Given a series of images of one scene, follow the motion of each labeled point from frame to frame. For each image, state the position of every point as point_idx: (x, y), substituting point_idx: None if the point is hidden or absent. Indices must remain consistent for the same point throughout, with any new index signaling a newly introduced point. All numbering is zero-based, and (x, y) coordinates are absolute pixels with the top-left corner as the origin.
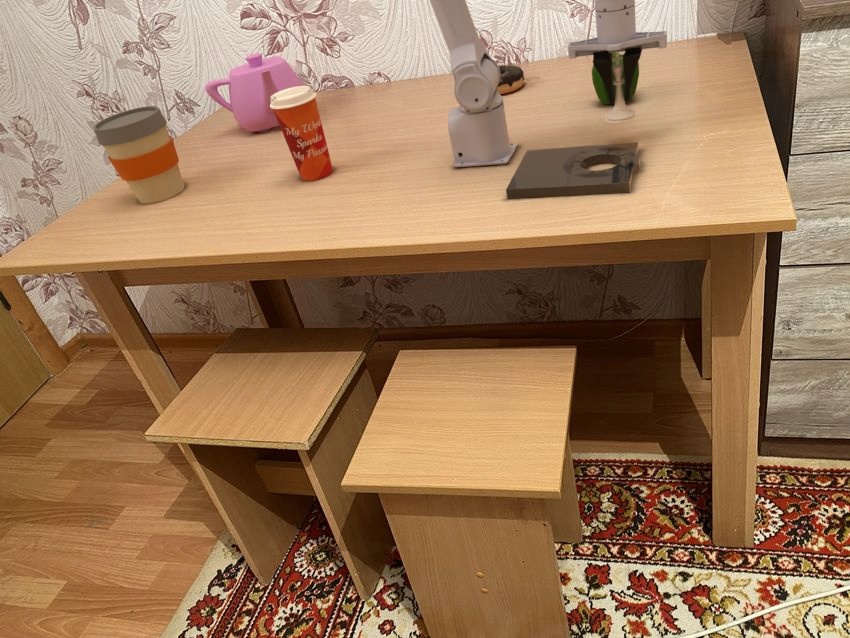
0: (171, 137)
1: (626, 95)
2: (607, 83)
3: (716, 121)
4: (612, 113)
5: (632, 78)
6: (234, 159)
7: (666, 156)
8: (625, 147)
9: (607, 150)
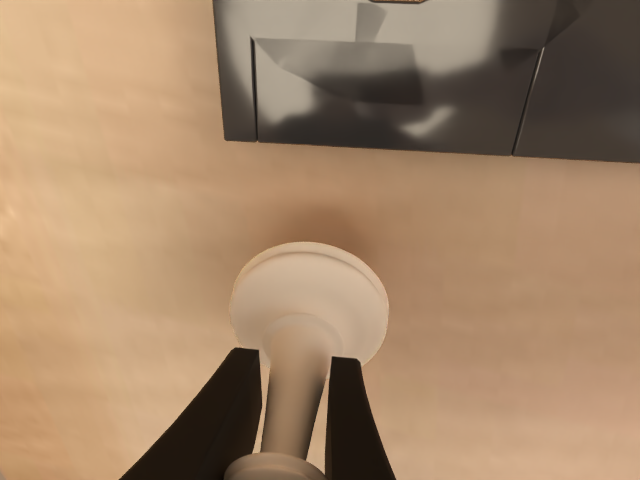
0: None
1: (234, 371)
2: (361, 475)
3: (20, 325)
4: (345, 312)
5: (125, 473)
6: None
7: (97, 31)
8: (278, 76)
9: (373, 56)
